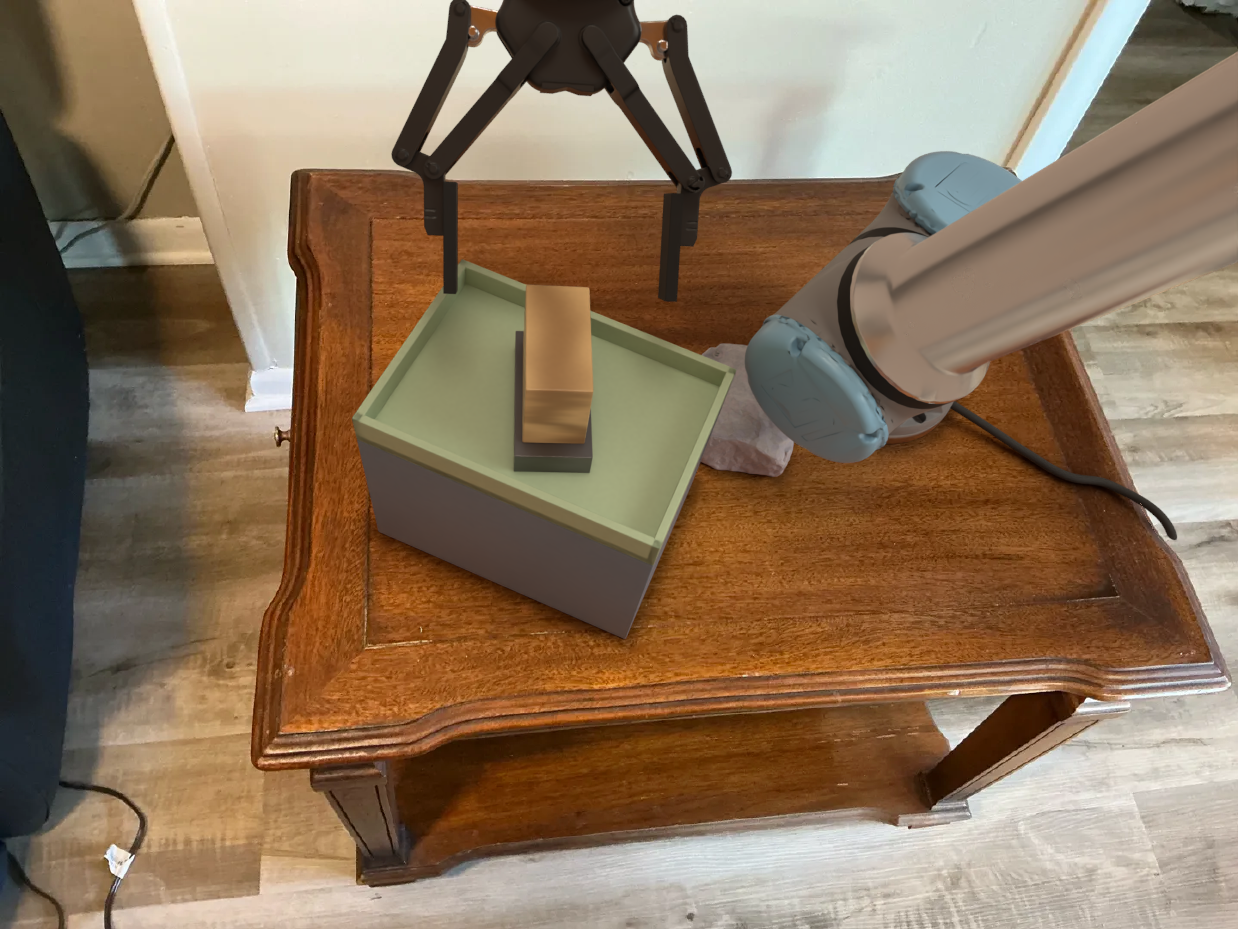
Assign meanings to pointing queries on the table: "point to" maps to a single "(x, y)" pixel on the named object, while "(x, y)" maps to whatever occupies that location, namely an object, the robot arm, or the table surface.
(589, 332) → the eraser
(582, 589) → the stand
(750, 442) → the stone block
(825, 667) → the table surface
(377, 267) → the table surface
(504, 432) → the tray
